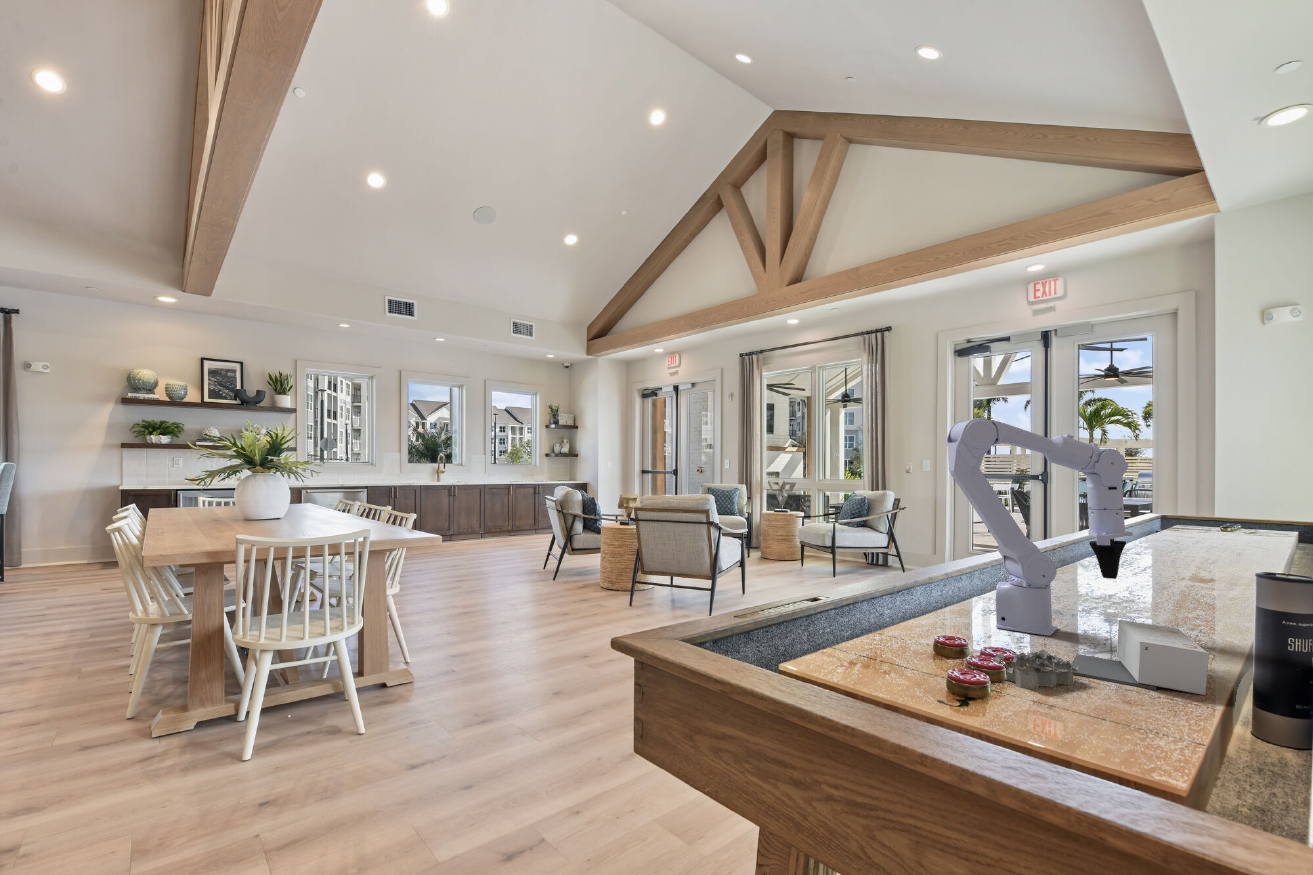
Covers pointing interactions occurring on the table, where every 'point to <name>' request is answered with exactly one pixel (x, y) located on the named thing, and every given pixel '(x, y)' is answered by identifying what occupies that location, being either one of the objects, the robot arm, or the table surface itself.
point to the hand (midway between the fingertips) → (1109, 577)
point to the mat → (1105, 670)
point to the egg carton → (1038, 670)
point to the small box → (1162, 657)
